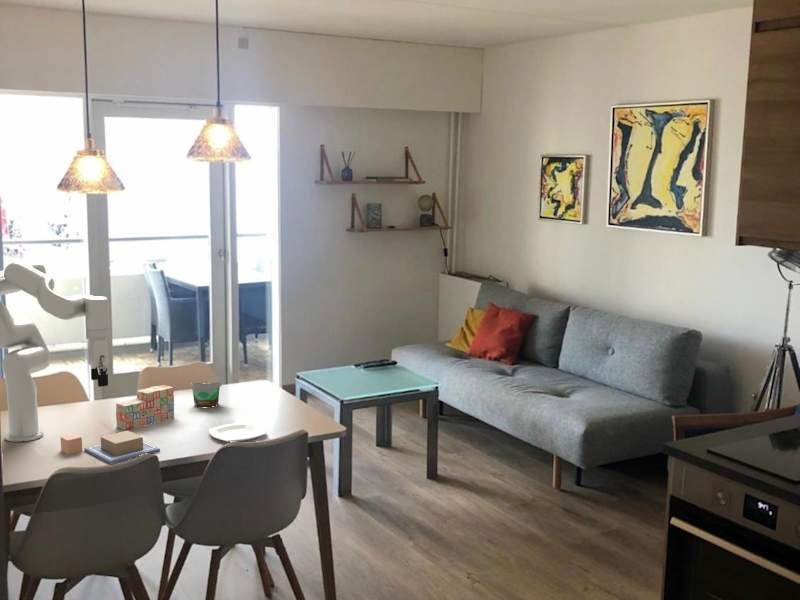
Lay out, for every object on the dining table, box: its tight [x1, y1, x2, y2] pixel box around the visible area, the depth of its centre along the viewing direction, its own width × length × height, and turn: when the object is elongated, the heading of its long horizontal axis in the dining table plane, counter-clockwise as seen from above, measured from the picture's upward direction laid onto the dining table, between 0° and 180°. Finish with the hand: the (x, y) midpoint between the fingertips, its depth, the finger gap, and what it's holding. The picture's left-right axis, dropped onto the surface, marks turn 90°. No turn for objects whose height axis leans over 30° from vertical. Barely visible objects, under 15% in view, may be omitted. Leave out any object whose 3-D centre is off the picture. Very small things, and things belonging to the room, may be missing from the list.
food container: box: [189, 380, 222, 408], centre depth 340 cm, size 12×6×10 cm, turn 104°
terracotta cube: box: [60, 433, 83, 455], centre depth 286 cm, size 5×5×5 cm
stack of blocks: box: [115, 384, 175, 431], centre depth 318 cm, size 21×6×12 cm, turn 141°
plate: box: [208, 422, 268, 443], centre depth 305 cm, size 19×19×2 cm
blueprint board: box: [83, 430, 161, 465], centre depth 286 cm, size 18×18×5 cm
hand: (99, 382), depth 287 cm, fingers open, 9 cm apart
